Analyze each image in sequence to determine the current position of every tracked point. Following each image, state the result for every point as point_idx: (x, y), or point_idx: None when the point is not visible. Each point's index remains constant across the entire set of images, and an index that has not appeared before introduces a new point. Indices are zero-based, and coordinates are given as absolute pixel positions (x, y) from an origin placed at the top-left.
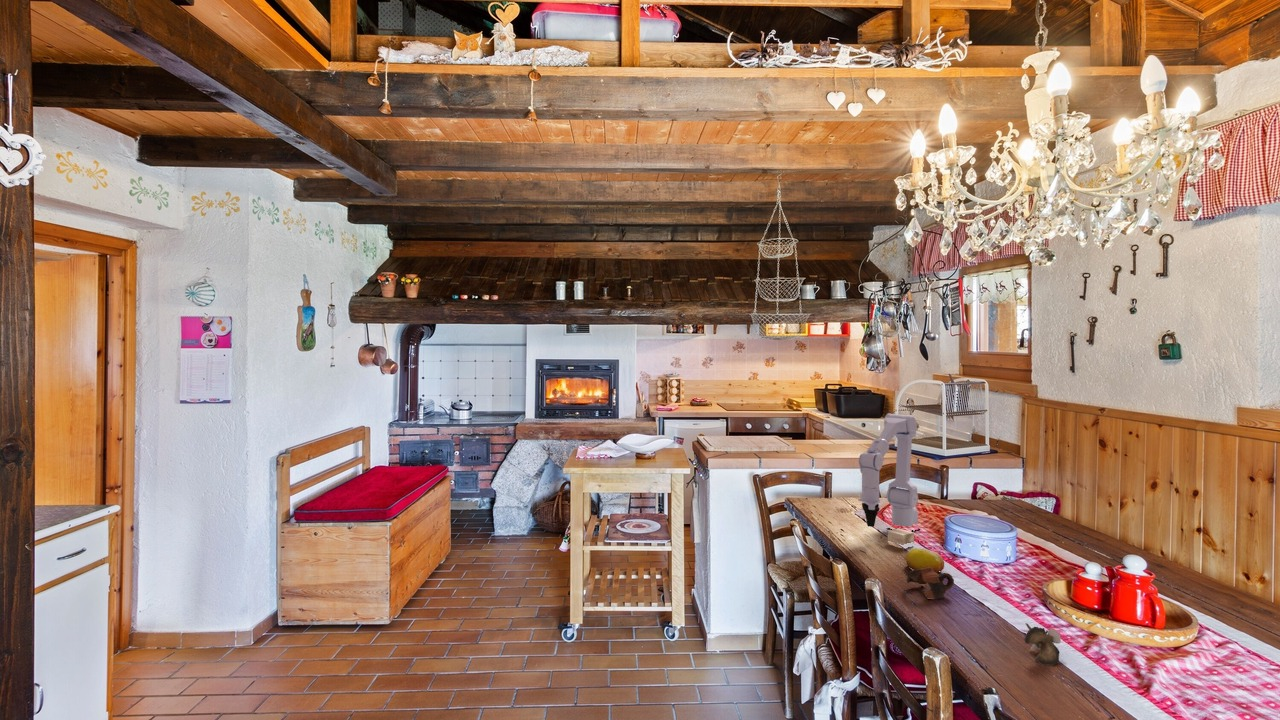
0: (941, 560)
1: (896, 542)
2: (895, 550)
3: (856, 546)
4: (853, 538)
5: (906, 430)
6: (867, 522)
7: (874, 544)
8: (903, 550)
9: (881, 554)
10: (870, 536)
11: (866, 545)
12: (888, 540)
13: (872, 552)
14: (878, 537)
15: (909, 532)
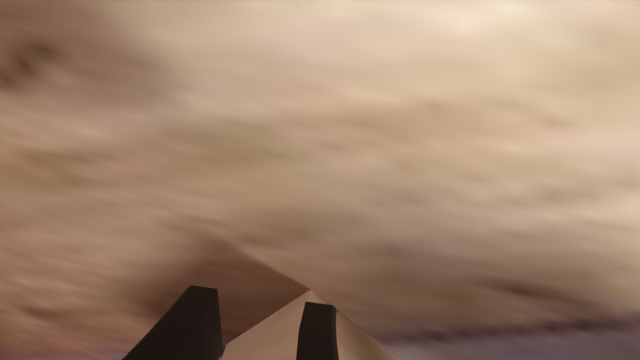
0: None
1: (248, 355)
2: None
3: (149, 25)
4: (454, 29)
5: None
6: (157, 331)
7: (283, 203)
8: None
9: (35, 202)
10: (543, 216)
11: (226, 131)
12: (298, 322)
13: (44, 147)
14: (511, 271)
15: None
